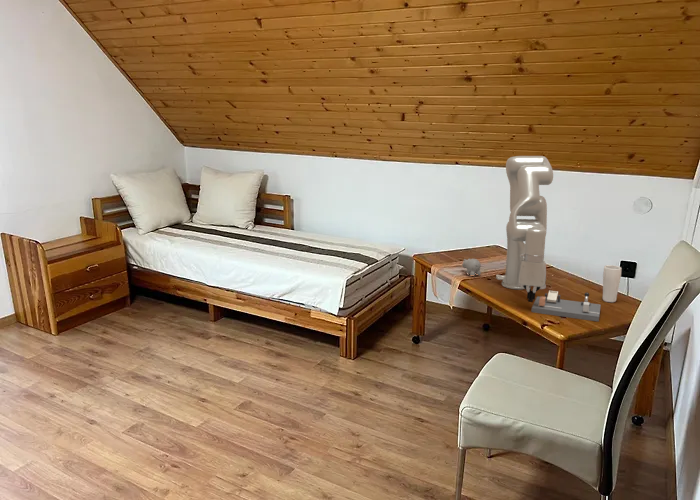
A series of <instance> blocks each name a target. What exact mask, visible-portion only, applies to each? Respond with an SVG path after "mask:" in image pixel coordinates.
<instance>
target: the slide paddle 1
mask: <svg viewBox="0 0 700 500" xmlns="http://www.w3.org/2000/svg"><path fill="white" fill-rule="evenodd" d="M539 297H540V300H539V305H540V306H544V305H545V300H546V297H545V296H543V295H540V296H539Z"/></svg>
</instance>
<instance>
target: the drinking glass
mask: <svg viewBox="0 0 700 500" xmlns="http://www.w3.org/2000/svg"><path fill="white" fill-rule="evenodd" d="M621 278H622V266H619V265H613V264H612V265H611V264H608V265H604V267H603V274H602V301H603V302H606V303H615V302H616V301H617V298H618V292H619V287H620V283H621Z"/></svg>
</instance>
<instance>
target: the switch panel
mask: <svg viewBox="0 0 700 500" xmlns="http://www.w3.org/2000/svg"><path fill="white" fill-rule="evenodd" d="M540 297H541V296H538V295H537V296H536V297H535V301H534V302H533V304H532V307H531V313H533V314H534V313H536V314H543V315H549V316H550V315H551V316H556V317H565V318H569V319H570V318H571V319H578V320H585V321H592V322H600V314H601V305H602V304H599V303H593V302H592V303H591V302H589V301H588V302H589V312H584V311H583V305H584V302H585V301H577V300H569V299H568V300H567V299H562V298H561V294H558V296H557V300H556V302H549V301H547V297H548V292H544V297H546V300H545V305H544V306H540V305H539V300H540Z"/></svg>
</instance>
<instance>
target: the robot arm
mask: <svg viewBox="0 0 700 500" xmlns="http://www.w3.org/2000/svg"><path fill="white" fill-rule="evenodd" d="M505 170H506V171H505V173H506V176H507V179H508V183H509V188H510V189H509V210H510V213H509V217H508V222H507V224H506V227H505V230H506V242H507V245H506V260H505V261H506V264H505V274H503V275H501V274H496V275H495V279H497V280H498V281H501V285H502V287H504V288H507V289H511V290H525V291H526V292H527V293H526V294H527V295H526V299H528V302H531V303H534V302H533V301H534V300H536V292H538V291H539V290H545V289H546V288H547V285H546V281H547V267H546V261H545V251H546V250H545V249H546V236H547V226H548V222H547V221H548V217H547V215H548V206H547V205H548V204H547V200H546V197H544V196H543V195H540V194H541V193H540V186H549V185H551V184H552V183H553V181H554V170H553V167H552V165H551V163H550V161H549V159H548V158H547V157H546V156H543V155H516V156H510V157H509V158H507V160H506V163H505ZM517 217H534V219H533V218H532V219H531V218H527V219H526V218H517ZM531 287H533V288H532V289H531Z"/></svg>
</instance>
